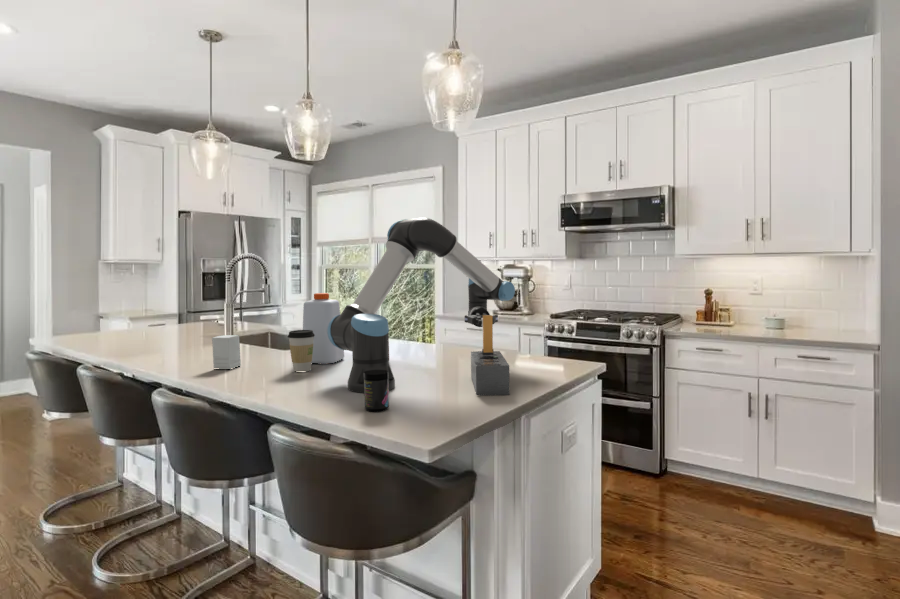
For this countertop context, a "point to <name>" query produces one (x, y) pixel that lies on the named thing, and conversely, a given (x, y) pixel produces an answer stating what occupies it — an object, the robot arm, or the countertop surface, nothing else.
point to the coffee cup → (301, 349)
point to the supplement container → (376, 390)
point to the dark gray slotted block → (489, 373)
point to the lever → (487, 335)
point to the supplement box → (226, 351)
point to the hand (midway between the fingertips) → (484, 323)
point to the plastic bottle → (322, 327)
